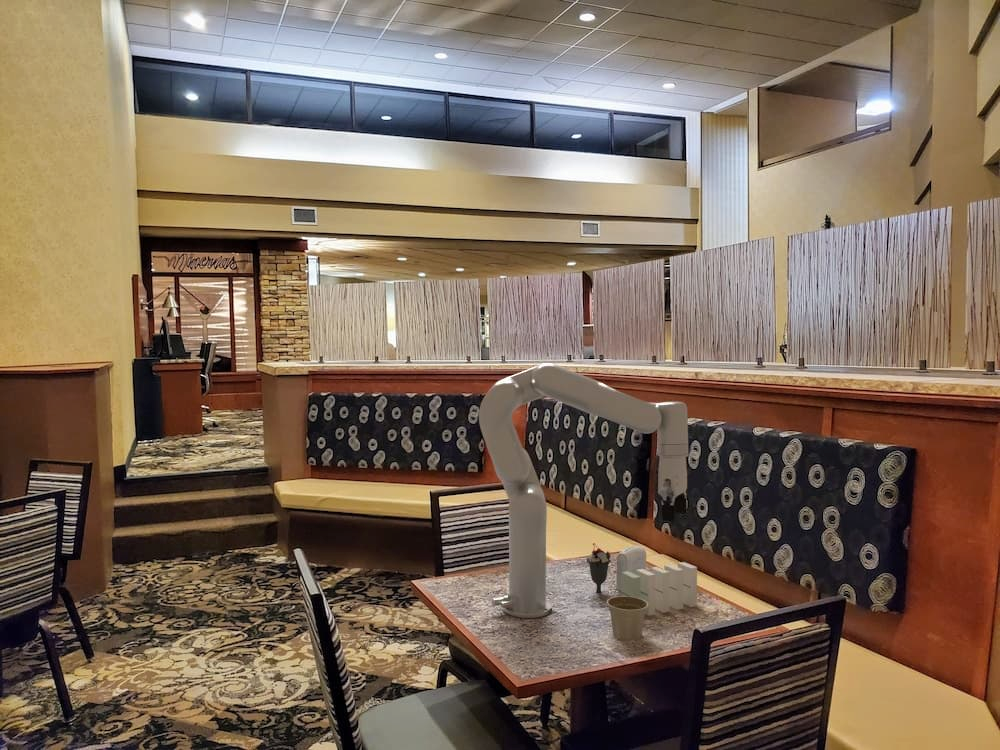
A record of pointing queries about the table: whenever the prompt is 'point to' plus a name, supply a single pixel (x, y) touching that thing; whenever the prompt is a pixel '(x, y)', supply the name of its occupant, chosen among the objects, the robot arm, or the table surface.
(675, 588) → the domino
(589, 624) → the table surface
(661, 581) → the domino
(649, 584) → the domino
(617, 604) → the flower pot
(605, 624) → the table surface
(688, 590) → the domino
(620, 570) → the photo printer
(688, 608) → the domino board
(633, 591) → the pale green domino
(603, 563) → the sundae
